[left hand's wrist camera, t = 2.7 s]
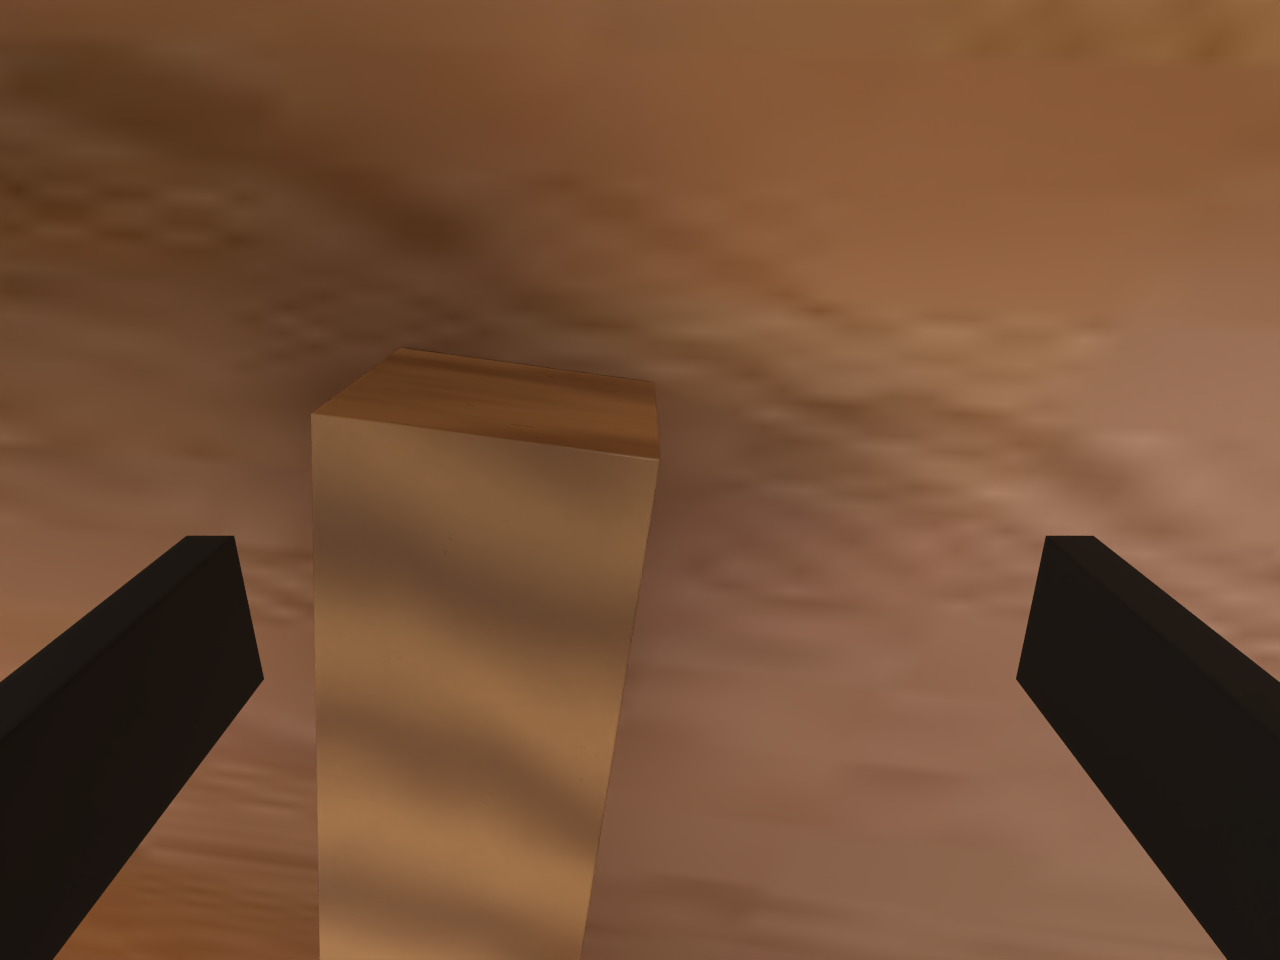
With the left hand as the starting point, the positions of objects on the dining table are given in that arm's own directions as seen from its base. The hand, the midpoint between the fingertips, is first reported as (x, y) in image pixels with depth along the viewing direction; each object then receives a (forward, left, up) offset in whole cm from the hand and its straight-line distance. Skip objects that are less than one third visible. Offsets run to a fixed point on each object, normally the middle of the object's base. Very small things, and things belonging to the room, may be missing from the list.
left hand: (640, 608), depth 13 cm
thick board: (+1, -41, -14) cm, 43 cm away
